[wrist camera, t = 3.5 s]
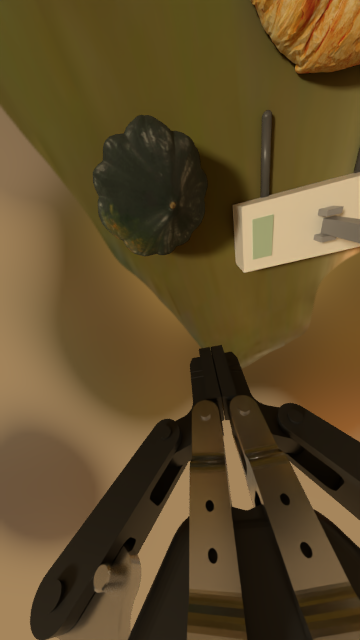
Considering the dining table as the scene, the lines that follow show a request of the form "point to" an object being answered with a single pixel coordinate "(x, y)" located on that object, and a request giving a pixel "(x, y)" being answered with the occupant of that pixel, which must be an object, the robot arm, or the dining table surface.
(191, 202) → the squash
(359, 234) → the lever
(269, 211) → the switch block
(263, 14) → the croissant
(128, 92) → the dining table surface
